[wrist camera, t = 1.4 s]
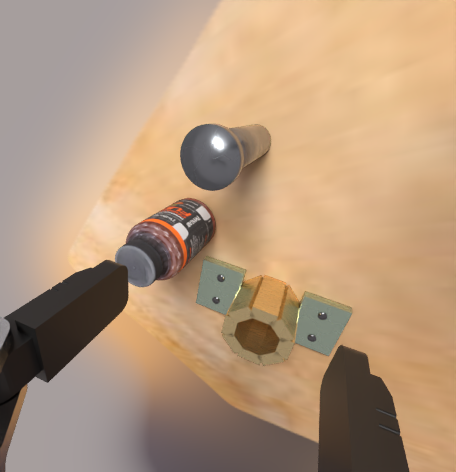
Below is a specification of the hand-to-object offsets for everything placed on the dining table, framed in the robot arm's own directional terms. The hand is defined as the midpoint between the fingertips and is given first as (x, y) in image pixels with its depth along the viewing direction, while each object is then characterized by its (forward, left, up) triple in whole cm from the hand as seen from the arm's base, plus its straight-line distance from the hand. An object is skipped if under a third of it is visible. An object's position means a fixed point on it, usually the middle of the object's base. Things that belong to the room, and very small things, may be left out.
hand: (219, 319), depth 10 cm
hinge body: (+14, +2, -20) cm, 25 cm away
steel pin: (-4, -4, -20) cm, 21 cm away
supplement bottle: (+7, -9, -20) cm, 23 cm away
